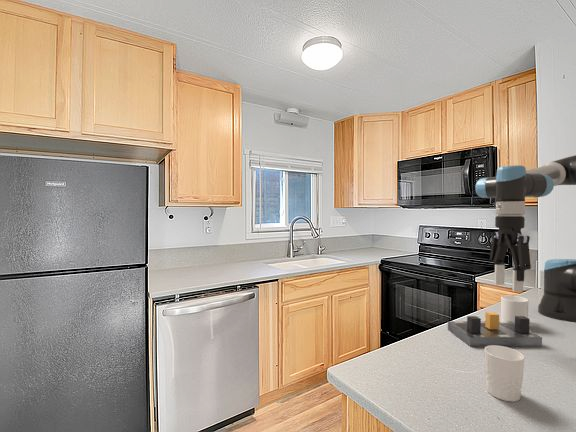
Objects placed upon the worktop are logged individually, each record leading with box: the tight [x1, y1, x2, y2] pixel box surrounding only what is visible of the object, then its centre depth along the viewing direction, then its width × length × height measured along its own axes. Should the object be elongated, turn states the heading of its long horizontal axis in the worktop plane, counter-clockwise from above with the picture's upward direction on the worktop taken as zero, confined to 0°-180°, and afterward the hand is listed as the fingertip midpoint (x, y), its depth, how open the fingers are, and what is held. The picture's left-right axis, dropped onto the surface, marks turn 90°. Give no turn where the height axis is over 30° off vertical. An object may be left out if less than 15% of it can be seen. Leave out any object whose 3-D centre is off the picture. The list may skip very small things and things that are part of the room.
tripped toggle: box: [485, 311, 500, 329], centre depth 107 cm, size 3×2×5 cm
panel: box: [447, 315, 543, 348], centre depth 107 cm, size 23×14×8 cm, turn 90°
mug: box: [500, 294, 529, 323], centre depth 119 cm, size 12×8×10 cm
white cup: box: [484, 345, 525, 403], centre depth 75 cm, size 8×8×10 cm
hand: (508, 287), depth 99 cm, fingers open, 8 cm apart
